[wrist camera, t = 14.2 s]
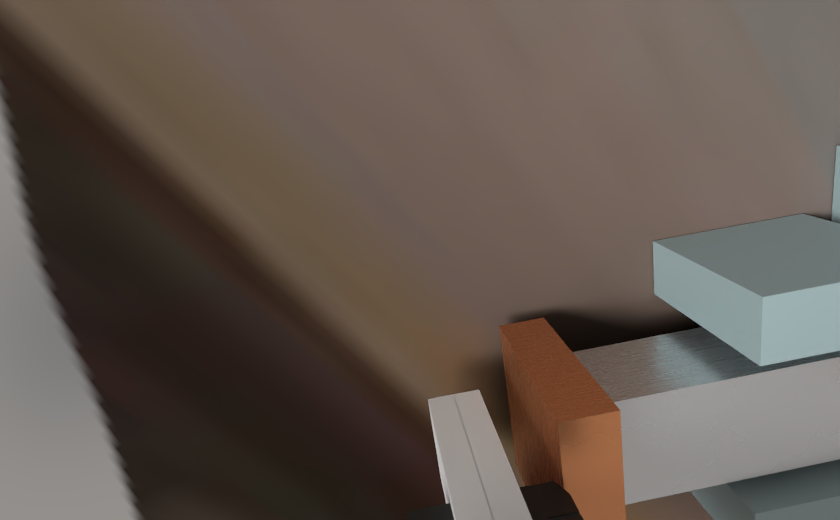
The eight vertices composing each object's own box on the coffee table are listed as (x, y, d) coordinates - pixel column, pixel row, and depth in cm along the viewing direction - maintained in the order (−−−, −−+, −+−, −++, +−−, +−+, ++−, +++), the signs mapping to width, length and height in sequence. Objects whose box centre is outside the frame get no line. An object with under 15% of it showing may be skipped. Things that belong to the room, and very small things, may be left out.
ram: (498, 325, 17) (557, 422, 12) (910, 248, 18) (1124, 308, 13) (515, 462, 18) (574, 599, 14) (894, 385, 19) (1080, 487, 14)
